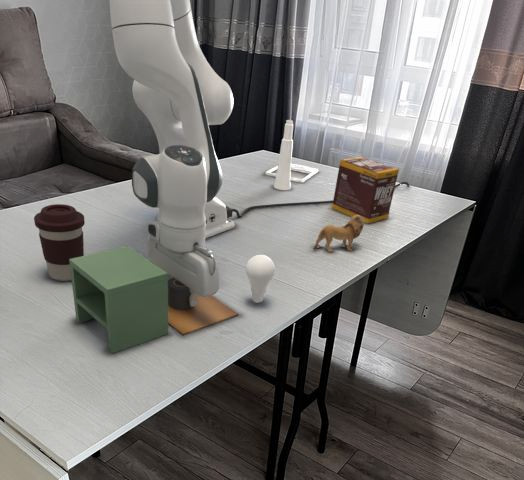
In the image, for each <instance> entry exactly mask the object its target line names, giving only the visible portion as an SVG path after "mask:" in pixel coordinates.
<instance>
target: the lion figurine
mask: <svg viewBox="0 0 524 480" xmlns="http://www.w3.org/2000/svg"><path fill="white" fill-rule="evenodd" d="M364 227H365V222H364V218H363V217H362V216H360V215H355V216H353V217H351V216H350V220H349V221H347V223H346V224H344V225H342V226H337V225H334V224H327V225H325V226H323V227H322V229H320V231H319V234H318V236H317V239H316V241H315V245H314V247H313V248H312V250H317V249H319V248H320V247H321V245H320V244H319V243H320V242H322V241H323V240H326V241H325V248H326V250H327V252H328V253H333V249H332V248H331V247H330V245H331V244H332V241H333V239H335V240H337V241H341V247H342V248H347V251H349V252H352V251H353V248H352V245H353V243H354V240H355V239H357V238H358V237H360V235H361V233H362V232H363V229H364ZM346 243H347V244H346Z"/></svg>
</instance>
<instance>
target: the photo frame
mask: <svg viewBox="0 0 524 480" xmlns="http://www.w3.org/2000/svg"><path fill="white" fill-rule="evenodd" d="M277 169H278V164H277V165H275V166H274V167H272V168H270V169H268V170H267V171H265V175H266V176H271V177H275V178H276V174H277V173H276V172H275V171H277ZM319 170H320V169H319V168H315V167H311V166H306V165H301V164H296V163H292V162H291V171H294V172H300V173H304V174H308V175H306V176H305V177H302V178H298V177H293V176H291V181H293V182H297V183H301V184H303V183H304V182H306V181H307V180H309V179H311V178H312V177H313V176H314V175H316V174H317V173H318V172H319ZM274 172H275V173H274Z"/></svg>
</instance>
